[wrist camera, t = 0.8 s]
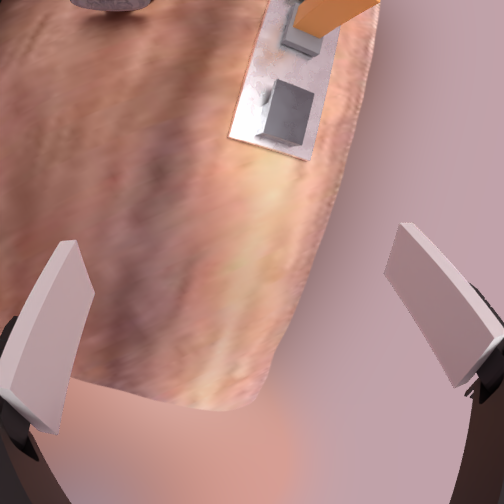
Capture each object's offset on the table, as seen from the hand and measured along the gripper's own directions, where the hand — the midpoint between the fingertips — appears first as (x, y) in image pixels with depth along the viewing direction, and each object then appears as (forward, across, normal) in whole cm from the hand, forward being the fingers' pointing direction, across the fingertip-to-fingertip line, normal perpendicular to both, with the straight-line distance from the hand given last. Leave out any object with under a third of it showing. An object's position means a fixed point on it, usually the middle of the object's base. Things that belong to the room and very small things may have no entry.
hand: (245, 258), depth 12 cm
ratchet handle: (+35, +13, +18) cm, 42 cm away
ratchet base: (+33, +10, +9) cm, 36 cm away
